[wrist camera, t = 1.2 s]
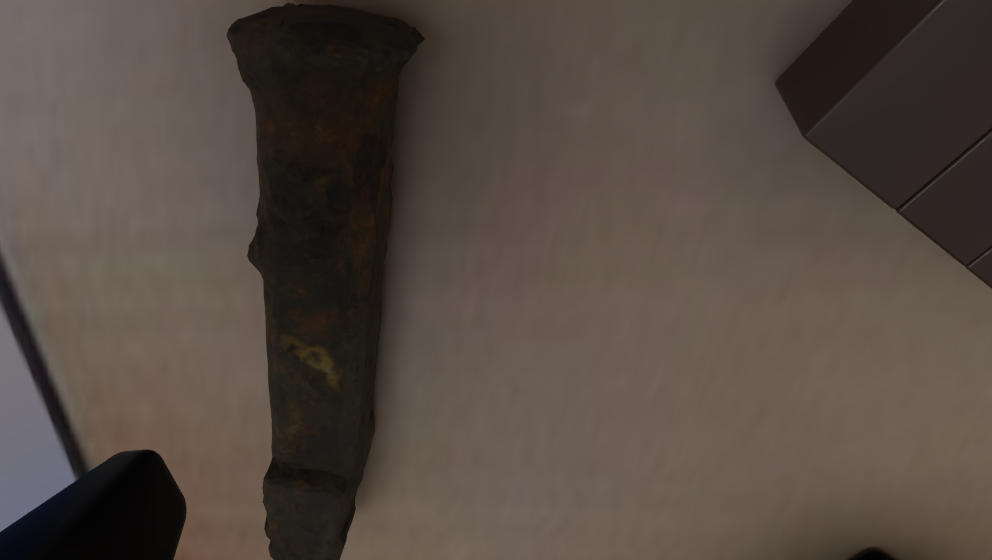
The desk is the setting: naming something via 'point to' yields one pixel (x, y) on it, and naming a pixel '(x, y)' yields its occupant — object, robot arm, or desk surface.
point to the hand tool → (320, 250)
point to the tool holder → (908, 113)
